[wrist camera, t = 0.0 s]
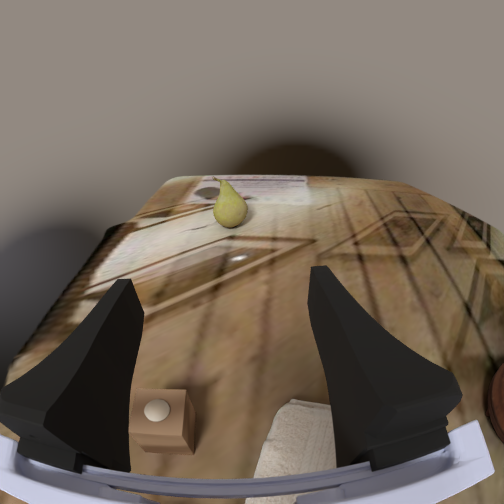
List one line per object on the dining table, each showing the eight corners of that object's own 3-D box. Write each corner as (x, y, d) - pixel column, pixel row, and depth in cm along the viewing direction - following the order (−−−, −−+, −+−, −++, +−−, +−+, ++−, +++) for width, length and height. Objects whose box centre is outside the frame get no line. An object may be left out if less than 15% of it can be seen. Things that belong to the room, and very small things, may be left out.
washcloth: (386, 416, 27) (394, 402, 26) (364, 574, 13) (374, 575, 11) (277, 404, 30) (278, 390, 29) (227, 557, 16) (222, 557, 14)
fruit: (254, 222, 65) (251, 167, 59) (233, 238, 60) (227, 178, 54) (228, 216, 69) (223, 163, 62) (206, 230, 63) (199, 174, 57)
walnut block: (193, 455, 25) (181, 434, 22) (145, 452, 25) (127, 431, 22) (196, 414, 29) (185, 388, 27) (151, 412, 29) (136, 387, 26)
